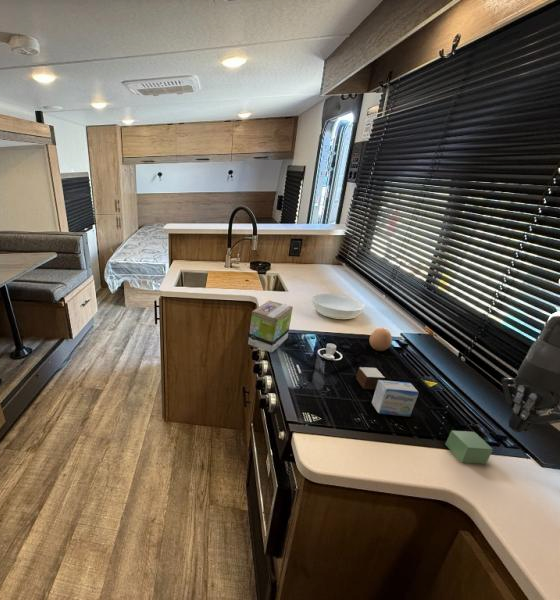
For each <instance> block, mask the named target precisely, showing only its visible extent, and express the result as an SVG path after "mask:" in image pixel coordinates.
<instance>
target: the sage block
mask: <svg viewBox="0 0 560 600" xmlns="http://www.w3.org/2000/svg"><path fill="white" fill-rule="evenodd" d="M444 445H445V446H446V448H448V449H449V451H450V452H451V453H452V454H453V455H454V456H455V457H456V458H457V459H458V461H460V462H461V463H468V464H481V465H486V464H487V462H488V461H489V459H490V458H491V455H492V452H493V451H494V448H493V447H491V446H490V445H489V444H488V443H487V442H486V441H485V440H484V439H483V438H482V437H481V436H479V435H478V433H476V432H475V431H468V430H467V431H464V430H450V433H449V434H448V437H447V440H446V441H445V444H444Z"/></svg>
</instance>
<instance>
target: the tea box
mask: <svg viewBox="0 0 560 600" xmlns="http://www.w3.org/2000/svg"><path fill="white" fill-rule="evenodd" d="M293 308H294V307H293V306H292V305H289V304H288V305H287V304H285V303H281V302H277V301H273V300H267V301H266V302H265V303H263V304H261V305H260V306H258V307H257V308H255V309H253V310H252V312H251V318H250V328H249V333H248V341H247V345H248V346H252V347H254V348H258V349H260V350H263V351H266V352H267V353H268V352H269V353H271V354H272V353H273V352H274V351H276V349H278V348H279V347H280V346H281V345H282V344H283V343H284V342H285V341H286V340H287V339H288V338H289V337H288V336H289V331H290V326H291V320H292V315H293Z"/></svg>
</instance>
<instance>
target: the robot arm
mask: <svg viewBox="0 0 560 600" xmlns="http://www.w3.org/2000/svg"><path fill="white" fill-rule="evenodd" d="M558 286H559V287H560V279H559V280H558ZM500 382H501V386H502V390H503V395H504V399H505V403H506V405H507V406H508V407H511V408H512V415H511V416H510V418H509V421H508V428H510V429H511V430H512V431H514V432H515V433H528V432H529V431H530V430H531V428H532V426H533V425H534V424H535V425H553V424H560V311H556V312H554V313H552V314H551V315H549V317H548V318H547V320H546V321H545V323H544V325H543V327H542V329H541V331H540V333H539V334H538V337H537V338H536V339H535V340H534V342H533V343H532V344H531V346H530V347H529V350H528V352H527V353H526V355H525V357H524V359H523V360H522V362H521V363H520V367H519V368H518V370H517V375H516V376H515V378H511V377H510V378H509V377H502V378H501V379H500ZM549 410H550V411H549ZM546 413H548V414H546Z"/></svg>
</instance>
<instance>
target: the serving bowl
mask: <svg viewBox="0 0 560 600" xmlns="http://www.w3.org/2000/svg"><path fill="white" fill-rule="evenodd" d="M311 303H312V306H313V308H314V310H315V311H316V312H317V313H318V314H321V315H322V316H325V317H327V318H331V319H337V320H351V319H355V318H357V317H358V316H360V315H361V314H362V313H363V311H364V309H365V304H364V303H363V302H362V301H360V300H358V299H357V298H354V297H351V296H348V295H343V294H338V293H318V294H315V295H313V296H312V301H311ZM326 305H328V306H326Z"/></svg>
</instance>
